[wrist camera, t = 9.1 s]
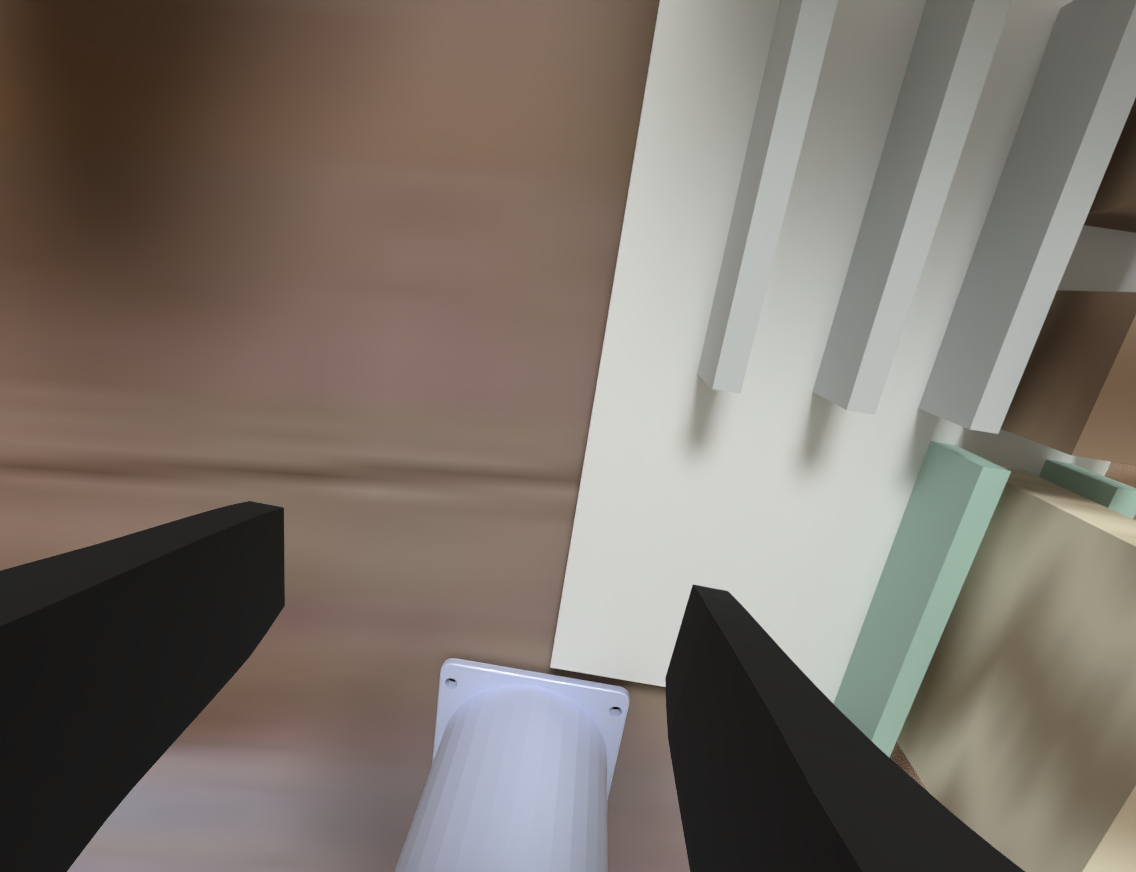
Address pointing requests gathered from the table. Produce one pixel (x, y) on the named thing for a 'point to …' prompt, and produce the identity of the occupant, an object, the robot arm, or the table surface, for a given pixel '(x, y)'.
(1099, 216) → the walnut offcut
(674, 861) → the table surface
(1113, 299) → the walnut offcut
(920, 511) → the rack
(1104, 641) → the birch sheet
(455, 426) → the table surface
